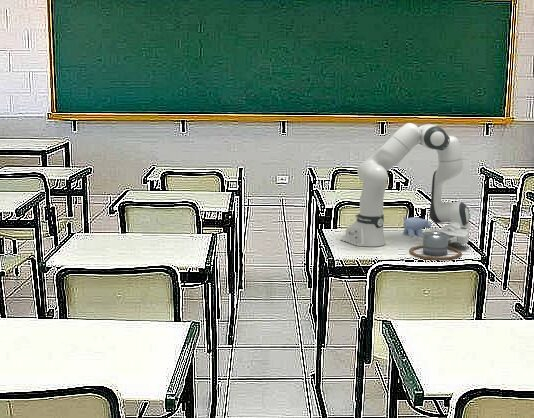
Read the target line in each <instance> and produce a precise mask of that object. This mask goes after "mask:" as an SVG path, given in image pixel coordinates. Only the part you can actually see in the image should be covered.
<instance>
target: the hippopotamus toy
mask: <svg viewBox="0 0 534 418" xmlns="http://www.w3.org/2000/svg"><path fill="white" fill-rule="evenodd" d="M403 221H404V222H403V233H404V234H408V236H409V237H410V238H416V237H419V238H423V229H425V228H426V229H432V222H431V223H430V221H429V220H427V219H424V218H421V217H416V216H414V217H413V216H412V217H408V218H406V217H405V216H403Z"/></svg>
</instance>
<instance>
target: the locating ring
mask: <svg viewBox="0 0 534 418" xmlns="http://www.w3.org/2000/svg"><path fill="white" fill-rule="evenodd" d="M420 249H423V244H422V245H416V246H412V247H410V249H409V251H408V252H409V254H410V255H411V256H413V257H415V258H419V259H421V260H430V261H431V260H432V261H450V260H456V259H459V258H460V257H462V256H463V254H462V253H463V252H462V251H461V250H460V249H458V248H456V247H451V246H448V250H447V251H452V250H453V251H452V252H454V251H455V252H454V253H456V252H457V253H458V254H457V253H456V254H454V255H451V256H442V257H432V256H427V255H424V254H423V255H421V254H419V253H417V252H414V251H416V250H420Z"/></svg>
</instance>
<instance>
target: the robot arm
mask: <svg viewBox="0 0 534 418" xmlns="http://www.w3.org/2000/svg"><path fill="white" fill-rule="evenodd" d="M416 145H417V146H418V145H421V146H423V147H424V148H427V149H431V150H436V152H437V156H438V157H437V158H438V166H437V169H436V170H435V171H434V172H433V175H432V181H431V192H430V193H431V196H430V199H431V200H430V206H429V218H430V219H431V220H432V222H434V223H436V224H443V223H448V224H446V225H444V226H443V227H442V229H439V228H427V229H426V230H424V232H423V234H424V233H425V232H432V231H438V232H443V233H446V234H448V244H454V243H455V244H456V243H457V244H458V243H459V244H468V243H469V241H470V240H469V239H470V227H471V226H470V216H471V214H470V209H469V208H468V206H467V205H466V203H464V202H462V201H455V202H454V201H453V202H452V201H451V202H443V201H442V190H443V189H442V188H443V185H444V183H445V182H448V181H449V180H451V179H453V178H455V177H457V176H458V175H460V173H462V171H463V167H464V162H463V161H464V160H463V153H462V149H461V145H460V142H459V139H458V138H457V137H456V136H453V135H448V134H447V132H446V131H445V130H444V129H443V128H442V127H441V126H438V125H436V124H433V123H423V124H421V125H420V124H419V125H417V124H415V123H412V122H407V123H405V124H403V125H402V126H401V127H399V128H398V130H395V132H394V133H393V134H392V135H391V136H390V137H389V139H388V140H386V141H385V143H384V144H383V145H382V146H381V147H380V148H378V149H377V150H376V151H375V152H374V153H372V155H370V156H369V157H368V158H366V159H365V160H364V161H362V162H361V163H360V164H359V165H358V167H357V170H356V171H357V177H358V178H359V179H360V180H359V181H361V182H362V189H361V194H360V197H359V213H358V214H356V215H355V218H356V221H354V222H352V224H350V225H348V227H347V228H346V230H345V234H344V236H340V239H341V240H340V241H342V240H344V241H346V242H345V243H347V242H349V243H348V244H350V243H351V244H350V245H353V244H354V245H353V246H355V245H357V246H356V247H380V246H384V245H386V239H385V232H384V222H385V215H384V197H385V191H386V188H387V183H388V180H389V175H388V171H389V170H390V169H392V168H393V167H395V166H397V165H398V164H400V162H401V161H402V160H403V159H404V158H405V157H407V155H408V154H409V153H410V151H412V149H413V148H415V146H416ZM344 241H343V242H344Z"/></svg>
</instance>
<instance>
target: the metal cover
mask: <svg viewBox="0 0 534 418" xmlns="http://www.w3.org/2000/svg"><path fill="white" fill-rule="evenodd" d="M424 232H425V231H424ZM424 232H423V233H422V235H423V237H422V245H423V248H422V254H423V256H429V257H447V255H448V251H449V250H448V247H449V246H448V245H449V243H448V234H446V233H443V232H438V231H432V232H425V233H424Z"/></svg>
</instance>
